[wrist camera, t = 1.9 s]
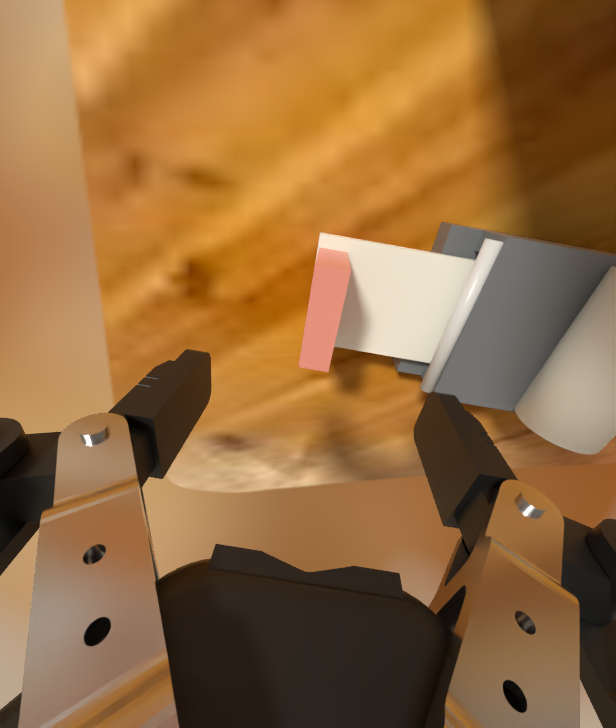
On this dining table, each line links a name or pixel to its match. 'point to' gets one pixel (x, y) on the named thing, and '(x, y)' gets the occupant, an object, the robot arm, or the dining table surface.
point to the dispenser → (530, 335)
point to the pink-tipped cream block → (379, 300)
